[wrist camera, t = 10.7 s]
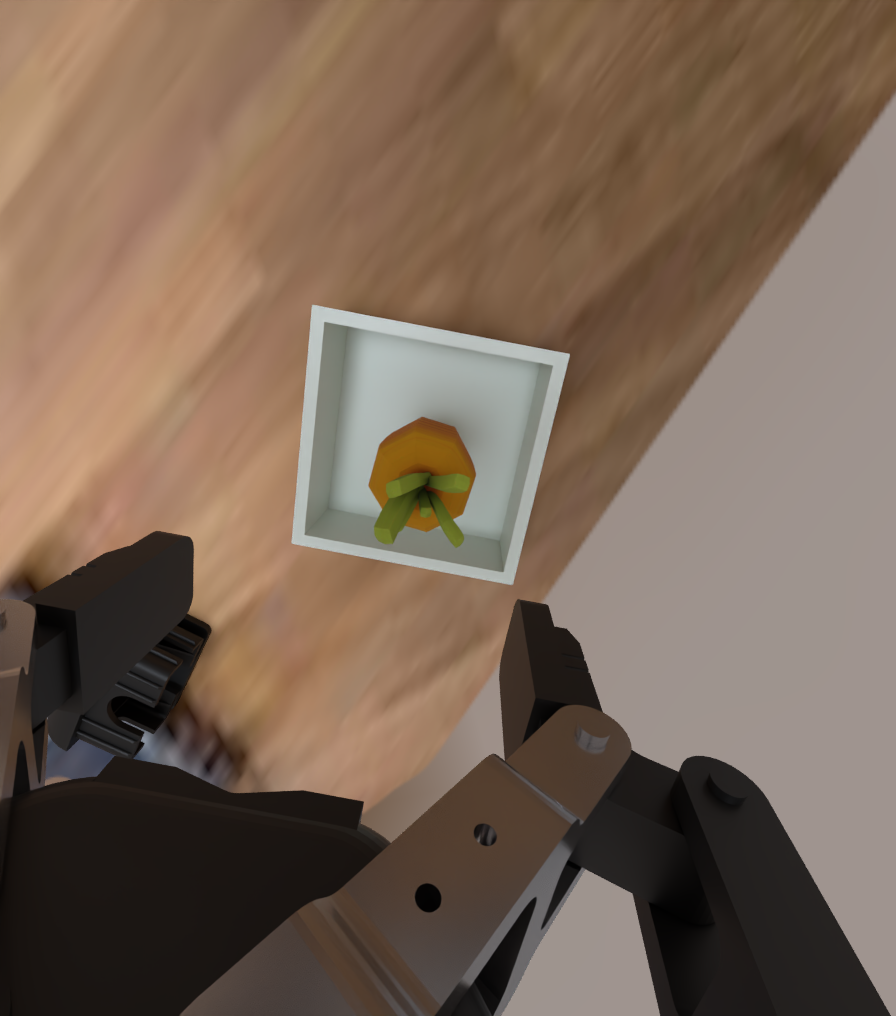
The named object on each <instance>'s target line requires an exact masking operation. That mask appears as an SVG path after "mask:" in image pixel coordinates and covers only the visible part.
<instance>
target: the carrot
mask: <svg viewBox="0 0 896 1016" xmlns="http://www.w3.org/2000/svg"><path fill="white" fill-rule="evenodd" d="M475 477H476V471H475V468H474V464H473V462H472V459H471V457H470V455H469V453H468V451H467V449H466V447H465V445H464V443H463V441H462V439H461V437H460V436H459V434H458V432H457V430H456V428H455V427H454V426H450V425H447V424H444V423H441V422H438V421H435V420H431V419H428V418H425V417H420V418H419V419H417V420H415V421H413V422H411V423H409V424H407V425H405V426H403V427H402V428H400V429H398V430H396V431H394V432H392V433H391V434H390V435H388V436H387V437H386V438H385V439H384V440H383V441H382V442H381V443H380V444H379V447H378V451H377V455H376V459H375V462H374V466H373V470H372V473H371V477H370V481H369V484H368V486H369V488H370V490H371V491H372V493H373V495H374V497H375V498H376V500H377V502H378V503H379V505H380V507H381V508H382V511H381V513H380V515H379V517H378V519H377V521H376V523H375V525H374V535H375V537H376V538H377V540H378V541H379V542H381V543H383V544H393V543H394V541H395V539H396V537H397V534H398V532H400V531H402V530H403V528H404V526H407V527H411V528H414V529H417V530H421V531H424V532H428V531H430V530H432V529H434V528H436V527H438V526H441V528H442V530H443V532H444V533H445V535H446V536H447V538H448V539H449V541H450V542H451V543H452V544H453V546H454V547H455V548H457V547H459V546H460V545H461V544H462V543H463V541H464V535H463V533H462V532H461V530H460V529H459V527H458V526H457V524H456V523H455V522H454V520H453V519H455V518H457V517H459V516H461V515H462V514H463V513H464V510H465V507H466V504H467V501H468V498H469V495H470V492H471V489H472V486H473V483H474V480H475Z"/></svg>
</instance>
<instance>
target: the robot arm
mask: <svg viewBox="0 0 896 1016" xmlns="http://www.w3.org/2000/svg"><path fill="white" fill-rule="evenodd" d="M193 557H194V547H193V542H192V539H191V538H190V537H188V536H182V535H177V534H172V533H166V532H161V531H155V532H153V533H151V534H149V535H148V536H146V537H144V538H143V539H141V540H139V541H138V542H136V543H134V544H133V545H131V546H127V547H124V548H121V549H117V550H114V551H111V552H107V553H104V554H103V555H101V556H99V557H97V558H96V559H94V560H92V561H91V562H89V563H87V565H86V566H82V567H80V568H79V569H77V570H75V571H73V572H72V574H71V575H66V576H65V577H63V578H61V579H60V580H58V581H56V582H54V583H53V584H51V585H49V586H48V587H46V588H44V589H42V590H41V591H39V592H37V593H35V594H34V595H32V596H30V597H29V598H27V599H25V600H23V601H18V600H10V599H0V1016H501V1015H502V1013H503V1012H504V1010H505V1008H506V1006H507V1005H508V1003H509V1001H510V1000H511V998H512V996H513V994H514V992H515V990H516V988H517V986H518V984H519V983H520V981H521V979H522V976H523V975H524V972H525V970H526V968H527V966H528V964H529V962H530V960H531V958H532V956H533V954H534V952H535V950H536V949H537V947H538V945H539V944H540V942H541V940H542V939H543V937H544V936H545V934H546V932H547V931H548V929H549V928H550V926H551V924H552V923H553V921H554V919H555V918H556V916H557V915H558V913H559V911H560V910H561V908H562V906H563V905H564V903H565V902H566V900H567V898H568V897H569V895H570V893H571V892H572V890H573V888H574V887H575V885H576V884H577V882H578V881H579V879H580V877H581V876H582V874H583V872H584V871H585V869H587V870H588V871H590V872H592V873H594V874H596V875H598V876H600V877H602V878H604V879H606V880H608V881H609V882H611V883H613V884H616V885H617V886H619V887H621V888H623V889H625V890H627V891H629V892H631V893H633V897H634V902H635V906H636V910H637V915H638V919H639V924H640V928H641V932H642V937H643V941H644V946H645V950H646V954H647V959H648V963H649V968H650V972H651V977H652V981H653V985H654V990H655V994H656V999H657V1003H658V1007H659V1012H660V1016H891V1015H890V1013H889V1012H888V1010H887V1009H886V1006H885V1005H884V1003H883V1001H882V999H881V998H880V996H879V994H878V993H877V991H876V989H875V987H874V986H873V984H872V982H871V980H870V978H869V977H868V975H867V973H866V971H865V970H864V968H863V966H862V964H861V963H860V961H859V959H858V957H857V956H856V954H855V952H854V950H853V949H852V947H851V945H850V943H849V941H848V940H847V938H846V936H845V935H844V933H843V931H842V929H841V928H840V926H839V924H838V922H837V920H836V919H835V917H834V915H833V913H832V912H831V910H830V908H829V906H828V905H827V903H826V901H825V900H824V898H823V896H822V894H821V892H820V891H819V889H818V887H817V885H816V884H815V882H814V880H813V878H812V877H811V875H810V873H809V871H808V869H807V868H806V866H805V864H804V862H803V861H802V859H801V857H800V855H799V854H798V852H797V850H796V849H795V847H794V845H793V843H792V841H791V840H790V838H789V836H788V834H787V833H786V831H785V829H784V827H783V826H782V824H781V822H780V820H779V819H778V817H777V815H776V813H775V812H774V810H773V808H772V806H771V805H770V803H769V801H768V799H767V798H766V796H765V795H764V793H763V792H762V791H761V790H760V789H759V787H757V785H755V783H754V782H753V781H751V780H750V779H749V778H748V777H747V776H746V775H744V774H743V773H742V772H740V771H739V770H737V769H736V768H734V767H732V766H731V765H728V764H727V763H725V762H722V761H720V760H717V759H714V758H711V757H705V756H693V757H690V758H687V759H686V760H685V761H684V762H683V764H682V765H681V768H680V770H679V772H677V771H675V770H673V769H671V768H668V767H666V766H663V765H661V764H659V763H657V762H654V761H652V760H650V759H647V758H645V757H643V756H641V755H639V754H638V753H636V752H634V751H633V750H631V749H632V748H631V742H630V739H629V737H628V735H627V733H626V732H625V731H624V729H623V728H622V727H621V726H620V725H619V724H618V723H617V722H616V721H615V720H614V719H612V718H611V717H609V716H608V715H606V714H605V713H603V711H602V708H601V706H600V702H599V699H598V697H597V694H596V691H595V688H594V685H593V682H592V679H591V676H590V673H588V667H587V664H586V661H584V655H583V652H582V649H581V646H580V643H579V642H578V641H577V640H576V639H575V638H574V636H573V635H572V634H571V633H570V632H569V631H568V630H567V629H565V628H559V627H554V624H553V621H552V617H551V613H550V610H549V606H548V605H546V604H541V603H536V602H530V601H525V600H520V599H518V600H517V601H516V603H515V606H514V609H513V613H512V617H511V621H510V625H509V629H508V633H507V637H506V641H505V644H504V648H503V652H502V657H501V663H500V674H499V681H500V695H501V710H502V726H503V741H504V755H505V761H504V760H503V759H502V758H500V757H499V756H498V755H496V754H491V755H489V756H488V757H486V758H485V759H484V760H483V761H481V762H480V763H479V764H478V765H477V766H476V767H475V768H474V769H473V770H471V771H470V772H469V773H468V774H467V775H466V776H465V777H464V778H463V779H461V780H460V781H459V782H458V783H457V784H456V785H455V786H454V787H453V788H452V789H450V790H449V791H448V792H447V793H446V794H445V795H444V796H443V797H442V798H441V799H440V800H438V801H437V802H436V803H435V804H434V805H433V806H432V807H431V808H430V809H428V810H427V811H426V812H425V813H424V814H423V815H422V816H421V817H419V818H418V819H417V820H416V821H415V822H414V823H413V824H412V825H411V826H409V827H408V828H407V829H406V830H405V831H404V832H403V833H402V834H401V835H400V836H398V838H396V839H395V840H394V841H393V842H392V843H390V842H389V841H388V840H387V839H385V838H384V837H383V836H381V835H380V834H378V833H377V832H375V831H374V830H372V829H371V828H369V827H367V826H365V825H362V824H361V823H360V822H361V816H362V810H363V804H364V802H363V801H358V800H352V799H347V798H341V797H336V796H330V795H325V794H320V793H314V792H309V791H303V790H302V791H280V792H258V793H231V792H227V791H225V790H223V789H221V788H219V787H217V786H215V785H212V784H210V783H208V782H206V781H204V780H202V779H200V778H198V777H196V776H194V775H192V774H189V773H187V772H185V771H183V770H181V769H179V768H177V767H173V766H167V765H162V764H157V763H151V762H146V761H140V760H135V759H129V758H124V757H118V756H114V757H113V759H112V760H111V761H110V762H109V763H108V764H107V765H106V767H105V768H104V769H103V770H102V771H101V772H100V774H99V775H98V776H97V777H86V778H79V779H72V780H68V781H63V782H58V783H54V784H50V785H47V786H45V773H46V758H47V743H48V722H47V717H48V716H49V715H50V714H52V713H53V712H54V711H55V710H61V711H66V712H72V713H77V714H82V715H84V714H85V713H86V712H87V711H88V710H89V709H90V708H91V707H92V706H93V705H94V704H95V703H96V702H97V701H98V700H99V699H100V698H101V697H103V696H104V695H105V694H106V693H107V692H108V691H109V690H110V689H111V688H112V687H113V686H114V685H115V684H116V683H117V682H118V681H119V680H120V679H121V678H122V677H123V676H124V675H125V674H126V673H128V672H129V671H130V670H131V669H132V668H133V667H134V666H135V665H136V664H137V663H138V662H139V661H140V660H141V659H142V658H143V657H144V656H145V655H146V654H147V653H148V652H149V651H150V650H151V649H153V648H154V647H155V646H156V645H157V644H158V643H159V642H160V641H161V640H162V639H163V638H164V637H165V636H166V635H167V634H168V633H169V632H170V631H171V630H172V629H173V628H174V627H175V626H176V625H177V624H179V623H180V622H181V621H182V620H183V619H184V617H185V616H186V614H187V613H188V611H189V608H190V606H191V603H192V598H193Z"/></svg>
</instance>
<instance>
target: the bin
mask: <svg viewBox="0 0 896 1016" xmlns="http://www.w3.org/2000/svg"><path fill="white" fill-rule="evenodd" d="M569 356H570V354H567V353H562V352H556V351H551V350H546V349H541V348H536V347H530V346H525V345H520V344H515V343H509V342H504V341H499V340H494V339H489V338H483V337H478V336H473V335H468V334H462V333H457V332H452V331H447V330H441V329H436V328H431V327H426V326H421V325H415V324H410V323H405V322H400V321H394V320H389V319H384V318H379V317H373V316H368V315H363V314H358V313H353V312H347V311H342V310H337V309H332V308H326V307H321V306H316V305H312V313H311V324H310V336H309V348H308V359H307V371H306V382H305V394H304V406H303V417H302V429H301V441H300V452H299V464H298V475H297V487H296V499H295V510H294V522H293V534H292V544H296V545H302V546H307V547H312V548H318V549H323V550H328V551H334V552H339V553H344V554H350V555H355V556H360V557H365V558H371V559H376V560H381V561H387V562H392V563H397V564H403V565H408V566H413V567H419V568H424V569H429V570H435V571H440V572H445V573H451V574H456V575H461V576H467V577H472V578H477V579H483V580H488V581H493V582H498V583H504V584H509V585H513V582H514V578H515V574H516V570H517V566H518V562H519V558H520V554H521V550H522V545H523V541H524V537H525V533H526V529H527V525H528V521H529V517H530V513H531V509H532V505H533V501H534V497H535V493H536V489H537V485H538V481H539V477H540V473H541V469H542V465H543V461H544V457H545V453H546V449H547V445H548V441H549V437H550V433H551V429H552V425H553V421H554V417H555V413H556V409H557V405H558V401H559V397H560V393H561V389H562V385H563V381H564V377H565V373H566V369H567V364H568V360H569ZM420 417H425V418H428V419H431V420H435V421H438V422H441V423H444V424H447V425H450V426H454V427H455V428H456V430H457V432H458V434H459V436H460V437H461V439H462V441H463V443H464V445H465V447H466V449H467V451H468V453H469V455H470V457H471V459H472V462H473V464H474V468H475V471H476V477H475V480H474V483H473V486H472V489H471V492H470V495H469V498H468V501H467V504H466V507H465V510H464V513H463V514H462V515H461V516H459V517H457V518H455V519H453V520H454V522H455V523H456V524H457V526H458V527H459V529H460V530H461V532H462V533H463V535H464V541H463V543H462V544H461V545H460V546H459V547H457V548H455V547H454V546H453V544H452V543H451V542H450V541H449V539H448V538H447V536H446V535H445V533H444V532H443V530H442V528H441V526H438V527H436V528H434V529H432V530H430V531H428V532H424V531H421V530H417V529H414V528H411V527H407V526H404V528H403V530H402V531H400V532H398V534H397V537H396V539H395V541H394V543H393V544H383V543H381V542H379V541H378V540H377V538H376V537H375V535H374V525H375V523H376V521H377V519H378V517H379V515H380V513H381V511H382V508H381V507H380V505H379V503H378V502H377V500H376V498H375V497H374V495H373V493H372V491H371V490H370V488H369V486H368V484H369V481H370V477H371V473H372V470H373V466H374V462H375V459H376V455H377V451H378V447H379V444H380V443H381V442H382V441H383V440H384V439H385V438H386V437H387V436H388V435H390V434H391V433H392V432H394V431H396V430H398V429H400V428H402V427H403V426H405V425H407V424H409V423H411V422H413V421H415V420H417V419H419V418H420Z"/></svg>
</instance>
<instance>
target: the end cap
mask: <svg viewBox="0 0 896 1016" xmlns="http://www.w3.org/2000/svg"><path fill="white" fill-rule="evenodd" d="M210 633H211V628H210V626H209V625H208V624H206V623H204V622H202V621H200V620H198V619H196V618H194V617H192V616H190V615H188V614H186V616H185V617H184V619H183V620H182V621H181V622H180V623H179V624H177V625H176V626H175V627H174V628H173V629H172V630H171V631H170V632H169V633H168V634H167V635H166V636H165V637H164V638H163V639H162V640H161V641H160V642H159V643H158V644H157V645H156V646H155V647H154V648H153V649H151V650H150V651H149V652H148V653H147V654H146V655H145V656H144V657H143V658H142V659H141V660H140V661H139V662H138V663H137V664H136V665H135V666H134V667H133V668H132V669H131V670H130V671H129V672H128V673H126V674H125V675H124V676H123V677H122V678H121V679H120V680H119V681H118V682H117V683H116V684H115V685H114V686H113V687H112V688H111V689H110V690H109V691H108V692H107V693H106V694H105V695H104V696H103V697H101V698H100V699H99V700H98V701H97V702H96V703H95V704H94V705H93V706H92V707H91V708H90V709H89V710H88V711H87V712H86V713H85V714H84V715H82V714H77V713H72V712H66V711H61V710H55V711H54V712H53V713H52V714H50V715H49V716H48V720H47V722H48V734H49V736H50V738H51V739H52V741H53V742H54V743H55V744H56V745H57V746H58V747H60V748H62V749H63V750H65V751H68V750H69V749H70V748H71V747H72V746H73V745H74V744H75V743H76V742H77V741H78V740H79V739H80V740H83V741H85V742H87V743H89V744H91V745H94V746H96V747H98V748H100V749H102V750H105V751H107V752H109V753H111V754H113V755H116V756H118V757H124V758H129V759H133V758H134V757H135V756H136V755H137V753H138V752H139V751H140V750H141V749H142V747H143V746H144V743H143V742H141V739H142V737H143V734H144V732H143V731H141V730H139V729H137V728H135V727H132V726H130V725H128V724H126V723H124V722H122V721H121V720H123V721H126V722H129V723H131V724H133V725H135V726H137V727H139V728H141V729H144V730H146V731H148V732H150V733H152V734H154V733H155V732H156V730H157V729H158V728H159V727H160V725H161V724H162V723H163V722H164V720H165V719H166V717H167V716H168V714H169V712H170V710H171V709H173V708H174V706H175V705H176V704H177V703H178V700H179V698H180V696H181V694H182V692H183V690H184V688H185V686H186V684H187V682H188V679H189V677H190V675H191V673H192V671H193V669H194V667H195V665H196V663H197V661H198V658H199V656H200V654H201V652H202V650H203V648H204V646H205V644H206V642H207V640H208V638H209V635H210Z"/></svg>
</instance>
